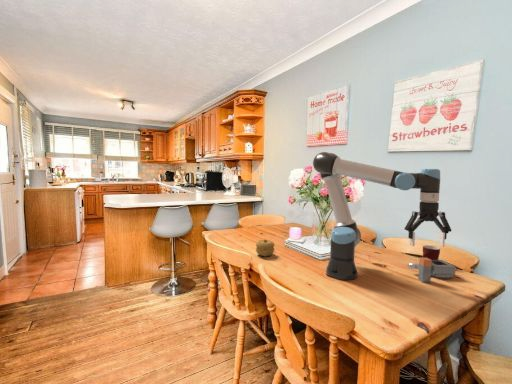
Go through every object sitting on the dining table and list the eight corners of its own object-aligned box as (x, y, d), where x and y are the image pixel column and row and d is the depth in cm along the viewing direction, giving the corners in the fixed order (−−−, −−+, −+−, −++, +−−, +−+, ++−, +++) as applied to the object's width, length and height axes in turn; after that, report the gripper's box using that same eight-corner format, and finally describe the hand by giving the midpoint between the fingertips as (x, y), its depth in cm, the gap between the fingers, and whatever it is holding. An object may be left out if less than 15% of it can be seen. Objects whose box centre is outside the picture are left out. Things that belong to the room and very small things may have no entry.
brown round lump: (273, 252, 166) (273, 237, 165) (275, 258, 154) (275, 242, 153) (255, 252, 166) (255, 236, 165) (255, 258, 154) (256, 241, 153)
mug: (432, 268, 139) (433, 250, 138) (416, 264, 146) (417, 247, 145) (441, 265, 145) (442, 248, 144) (426, 261, 151) (427, 244, 151)
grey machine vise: (415, 278, 127) (415, 266, 126) (402, 269, 138) (403, 258, 138) (458, 279, 125) (459, 267, 125) (442, 270, 137) (442, 259, 137)
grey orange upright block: (422, 282, 122) (423, 260, 121) (418, 279, 125) (419, 257, 124) (430, 282, 121) (431, 260, 121) (425, 279, 125) (427, 257, 124)
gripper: (406, 202, 117) (403, 247, 119) (462, 202, 116) (459, 248, 117) (398, 200, 125) (396, 242, 126) (451, 201, 123) (448, 243, 125)
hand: (426, 245), depth 122 cm, fingers open, 13 cm apart
